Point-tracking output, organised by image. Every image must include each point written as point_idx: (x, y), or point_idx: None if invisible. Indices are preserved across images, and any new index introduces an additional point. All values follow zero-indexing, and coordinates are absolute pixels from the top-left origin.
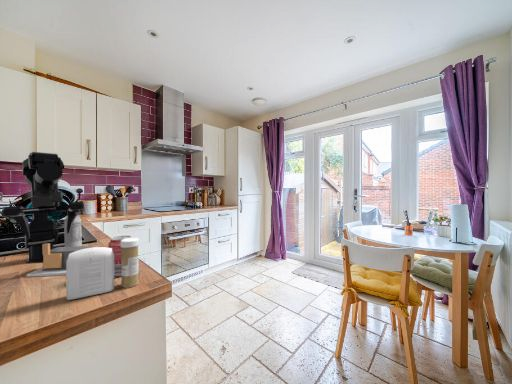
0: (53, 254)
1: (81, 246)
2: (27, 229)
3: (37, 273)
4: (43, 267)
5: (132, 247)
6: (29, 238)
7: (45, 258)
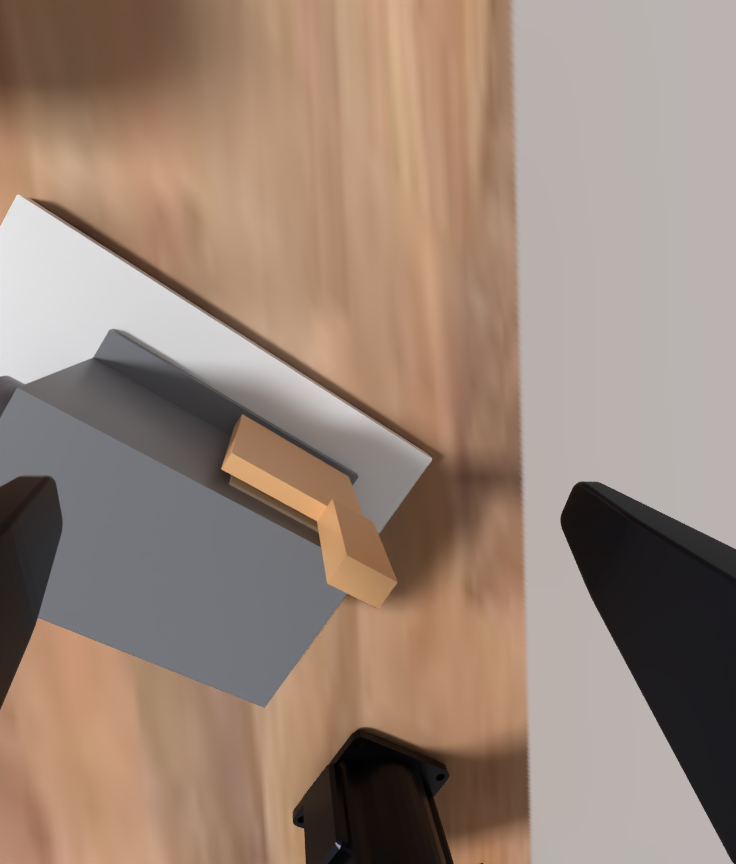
0: (289, 484)
1: None
2: (707, 581)
3: (377, 436)
4: None
5: None
6: (569, 505)
7: (347, 503)
